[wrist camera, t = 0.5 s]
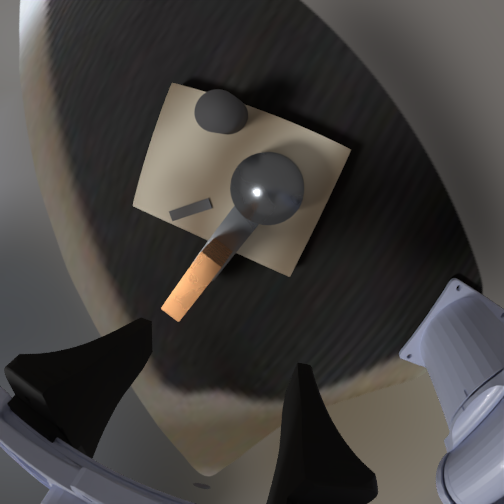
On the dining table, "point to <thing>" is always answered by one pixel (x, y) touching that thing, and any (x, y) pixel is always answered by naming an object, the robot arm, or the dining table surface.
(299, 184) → the crank
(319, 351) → the dining table surface
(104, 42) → the dining table surface
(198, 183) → the board
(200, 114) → the post
